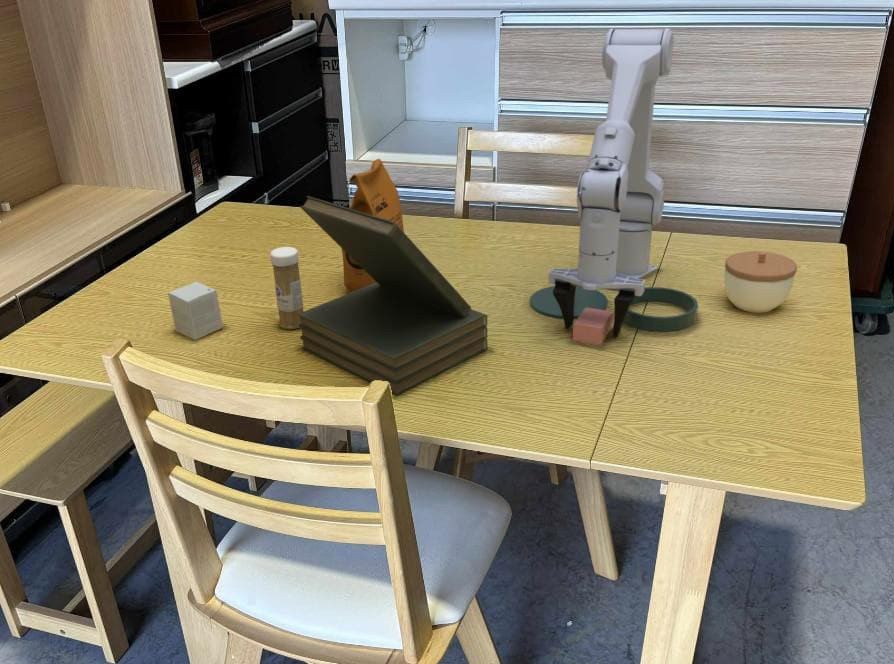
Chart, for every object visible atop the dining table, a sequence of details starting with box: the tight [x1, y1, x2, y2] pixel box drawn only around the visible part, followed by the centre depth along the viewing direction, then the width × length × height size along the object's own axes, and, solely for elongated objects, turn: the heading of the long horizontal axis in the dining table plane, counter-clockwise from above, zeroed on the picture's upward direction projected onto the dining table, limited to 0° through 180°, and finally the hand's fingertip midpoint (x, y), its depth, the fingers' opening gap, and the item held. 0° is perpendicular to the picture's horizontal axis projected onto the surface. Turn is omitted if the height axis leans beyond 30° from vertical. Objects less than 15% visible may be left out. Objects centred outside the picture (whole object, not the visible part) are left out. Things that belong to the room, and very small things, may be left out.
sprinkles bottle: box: [270, 246, 304, 330], centre depth 146 cm, size 5×5×13 cm
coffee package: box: [341, 158, 405, 293], centre depth 157 cm, size 10×12×22 cm
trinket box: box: [723, 250, 798, 314], centre depth 142 cm, size 11×11×9 cm
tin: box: [622, 286, 699, 333], centre depth 142 cm, size 12×12×3 cm
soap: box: [572, 308, 614, 345], centre depth 138 cm, size 4×6×3 cm
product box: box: [167, 281, 224, 341], centre depth 148 cm, size 6×6×7 cm
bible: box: [298, 195, 488, 397], centre depth 133 cm, size 23×20×25 cm
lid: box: [529, 285, 608, 320], centre depth 148 cm, size 13×13×5 cm
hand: (592, 330), depth 138 cm, fingers open, 7 cm apart
